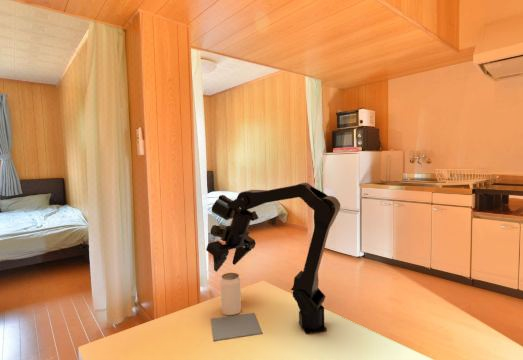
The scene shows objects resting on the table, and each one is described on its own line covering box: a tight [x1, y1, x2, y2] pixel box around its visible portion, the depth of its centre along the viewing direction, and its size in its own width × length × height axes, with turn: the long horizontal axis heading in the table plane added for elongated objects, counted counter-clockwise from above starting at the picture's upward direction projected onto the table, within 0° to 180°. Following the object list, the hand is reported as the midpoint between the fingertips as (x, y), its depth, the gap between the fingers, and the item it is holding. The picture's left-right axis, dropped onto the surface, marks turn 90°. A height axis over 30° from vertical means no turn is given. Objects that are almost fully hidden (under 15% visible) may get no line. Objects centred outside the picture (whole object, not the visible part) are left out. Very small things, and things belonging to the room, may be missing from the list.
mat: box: [210, 312, 264, 342], centre depth 93 cm, size 14×12×1 cm
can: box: [220, 272, 242, 316], centre depth 102 cm, size 6×6×12 cm
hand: (224, 267), depth 104 cm, fingers open, 9 cm apart
